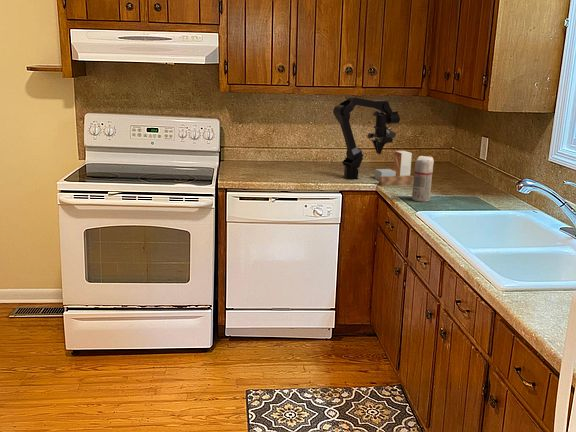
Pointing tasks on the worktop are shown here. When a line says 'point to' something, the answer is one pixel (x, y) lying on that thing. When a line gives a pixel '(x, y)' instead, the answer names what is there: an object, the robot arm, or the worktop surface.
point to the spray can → (422, 178)
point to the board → (396, 180)
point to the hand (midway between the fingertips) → (378, 153)
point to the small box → (402, 163)
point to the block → (384, 173)
